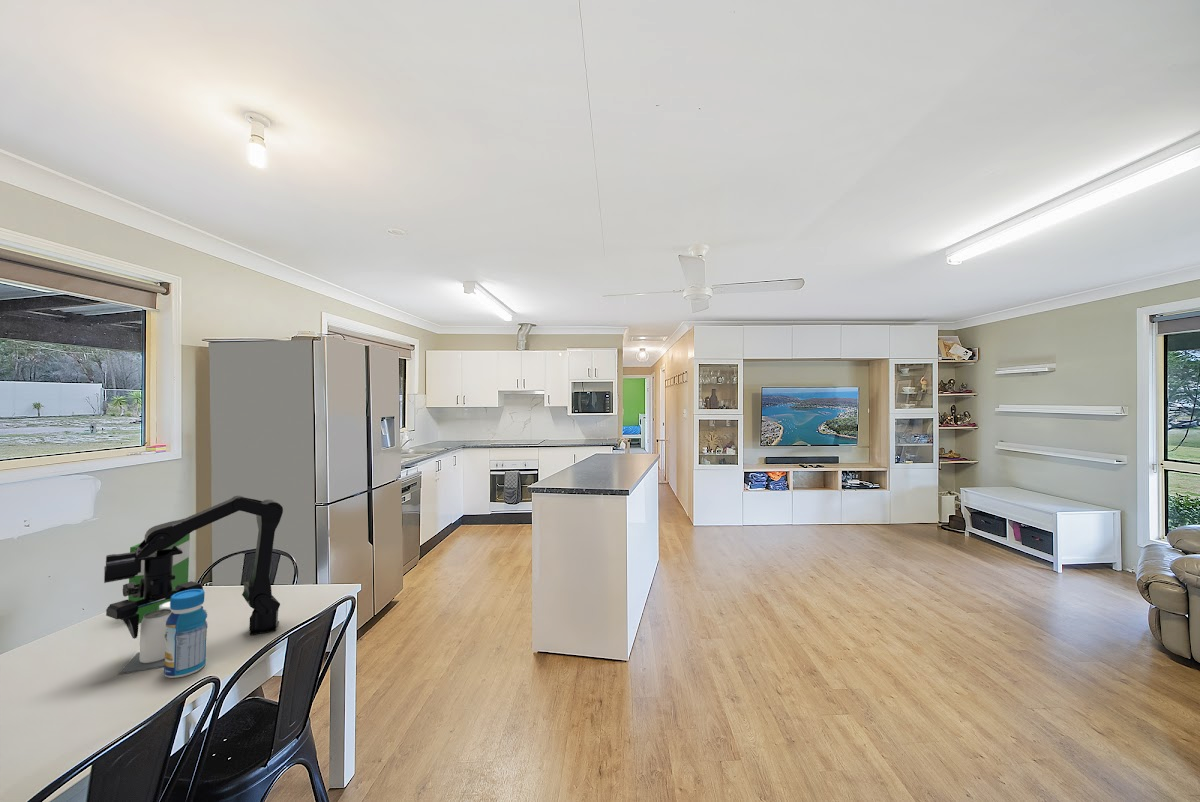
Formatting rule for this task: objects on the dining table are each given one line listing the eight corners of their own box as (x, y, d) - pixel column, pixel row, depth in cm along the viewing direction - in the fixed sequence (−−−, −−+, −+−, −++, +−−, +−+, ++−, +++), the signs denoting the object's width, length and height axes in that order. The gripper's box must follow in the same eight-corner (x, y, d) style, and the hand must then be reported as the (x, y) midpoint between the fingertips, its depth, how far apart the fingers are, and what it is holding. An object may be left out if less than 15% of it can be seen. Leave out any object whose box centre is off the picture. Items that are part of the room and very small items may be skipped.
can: (132, 665, 123) (134, 619, 123) (150, 652, 129) (151, 609, 129) (161, 662, 124) (163, 617, 125) (177, 650, 131) (179, 607, 131)
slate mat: (188, 645, 134) (188, 644, 134) (174, 665, 124) (174, 663, 124) (137, 654, 129) (137, 652, 129) (118, 674, 119) (118, 673, 119)
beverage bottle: (191, 678, 118) (194, 599, 119) (154, 680, 117) (156, 600, 117) (213, 660, 127) (216, 586, 127) (178, 662, 125) (181, 587, 126)
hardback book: (161, 601, 163) (164, 532, 164) (187, 599, 165) (189, 531, 166) (127, 624, 146) (130, 547, 147) (156, 621, 148) (159, 545, 149)
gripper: (182, 558, 139) (180, 611, 138) (95, 579, 121) (93, 640, 121) (205, 564, 135) (203, 618, 134) (119, 586, 117) (117, 649, 117)
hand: (156, 630), depth 127 cm, fingers open, 9 cm apart
